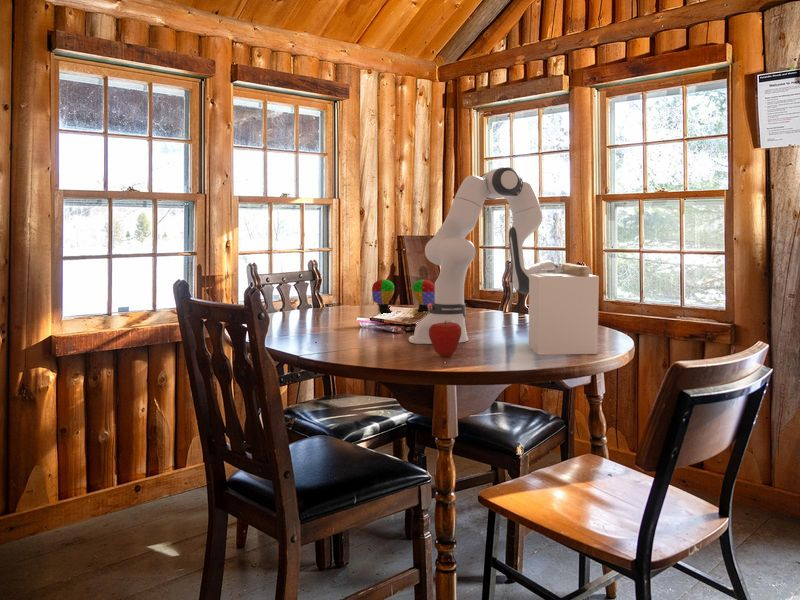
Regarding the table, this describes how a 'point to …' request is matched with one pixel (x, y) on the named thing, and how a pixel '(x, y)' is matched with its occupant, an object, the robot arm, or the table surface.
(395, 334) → the table surface
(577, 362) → the table surface
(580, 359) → the table surface
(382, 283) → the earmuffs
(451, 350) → the apple
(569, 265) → the tan rectangular block
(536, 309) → the white cardboard box
